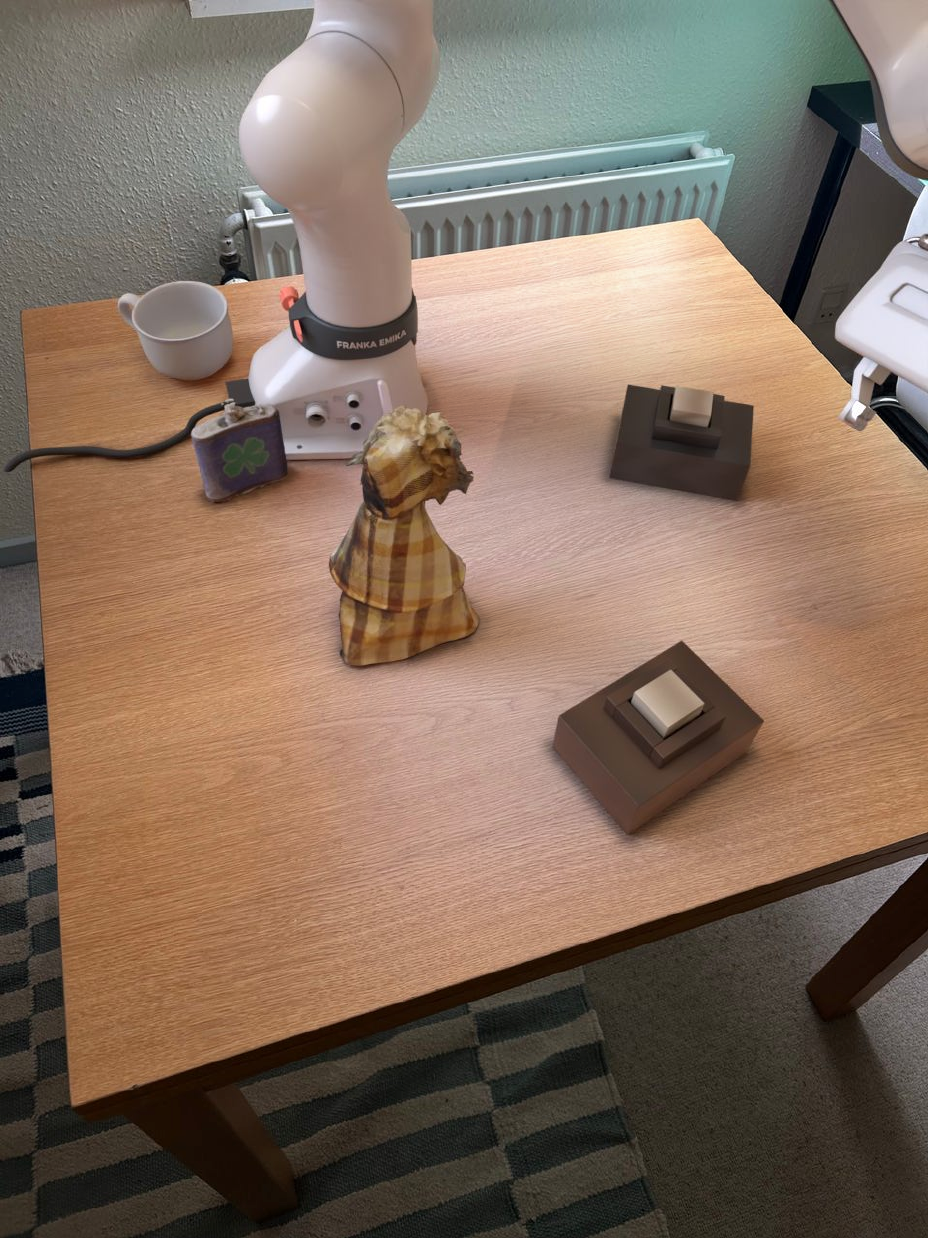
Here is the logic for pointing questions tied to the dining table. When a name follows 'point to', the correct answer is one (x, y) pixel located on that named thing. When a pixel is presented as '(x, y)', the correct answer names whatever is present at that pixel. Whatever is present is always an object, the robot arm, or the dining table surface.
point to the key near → (667, 703)
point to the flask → (240, 450)
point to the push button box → (653, 739)
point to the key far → (691, 406)
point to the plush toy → (402, 544)
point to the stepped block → (683, 445)
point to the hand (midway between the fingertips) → (897, 456)
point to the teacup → (181, 328)
